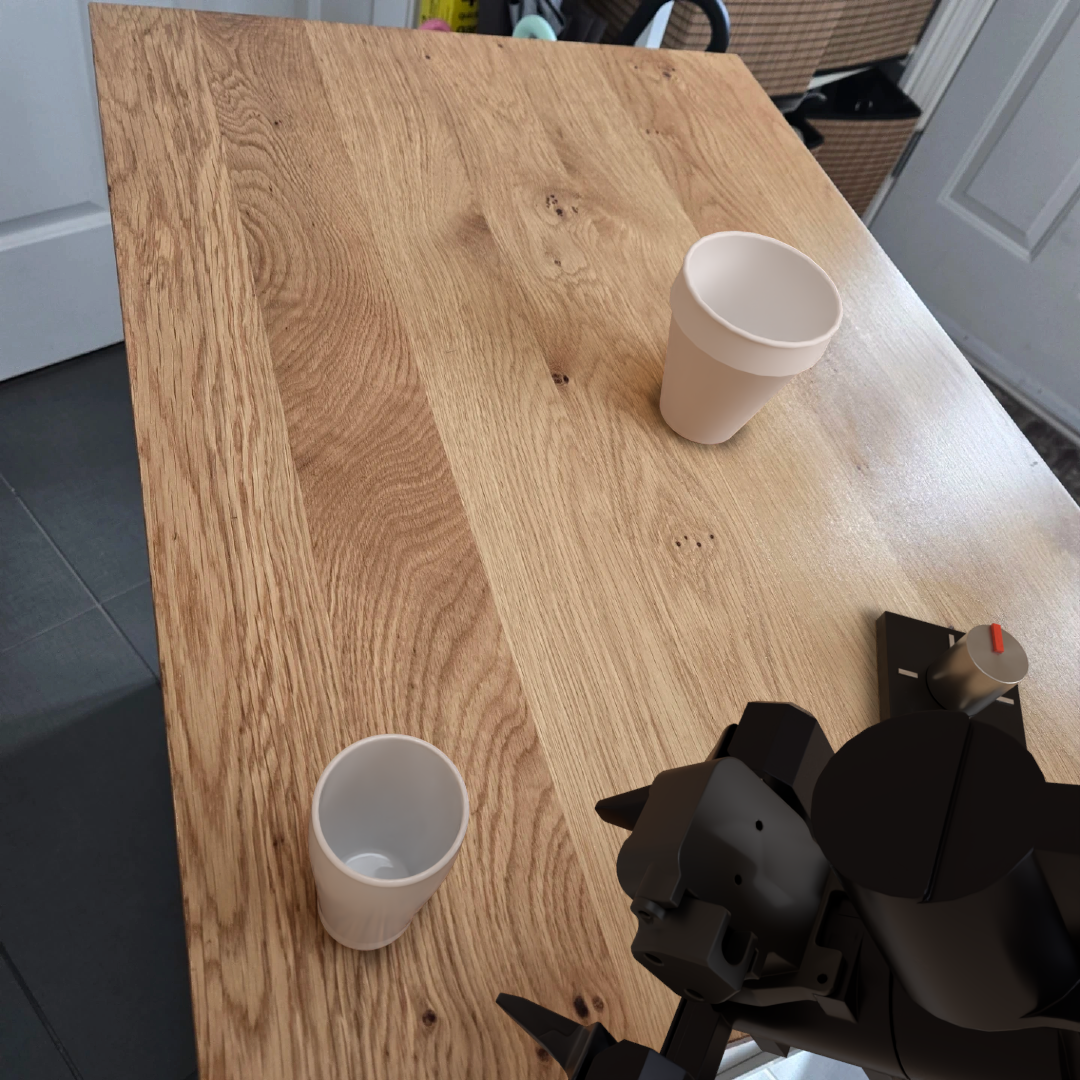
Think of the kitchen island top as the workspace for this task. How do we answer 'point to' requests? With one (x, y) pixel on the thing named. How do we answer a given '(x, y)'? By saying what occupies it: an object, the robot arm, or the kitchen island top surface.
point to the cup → (741, 330)
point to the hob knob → (977, 669)
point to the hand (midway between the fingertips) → (553, 900)
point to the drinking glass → (383, 836)
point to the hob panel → (904, 673)
